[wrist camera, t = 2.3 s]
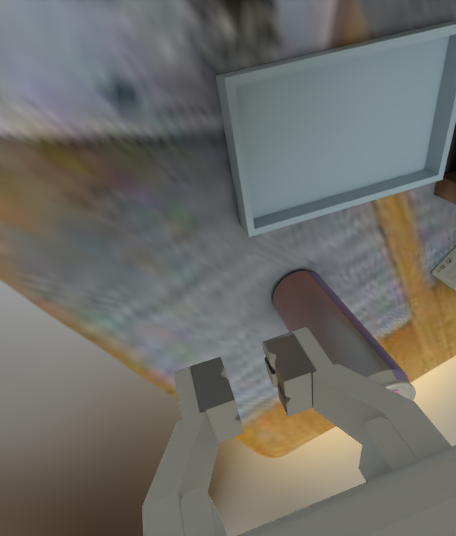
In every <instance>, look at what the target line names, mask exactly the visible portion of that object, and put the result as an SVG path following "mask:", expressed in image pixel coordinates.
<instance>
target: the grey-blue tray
mask: <svg viewBox="0 0 456 536" xmlns="http://www.w3.org/2000/svg"><path fill="white" fill-rule="evenodd" d="M215 77H216V83H217V89H218V95H219V101H220V107H221V113H222V119H223V125H224V131H225V137H226V143H227V149H228V155H229V161H230V167H231V173H232V179H233V185H234V191H235V197H236V202H237V208H238V214H239V220H240V225H241V226H242V228H243V229H244V231H245V232H246V234H247V235H248V237H251V236H255V235H258V234H262V233H265V232H268V231H272V230H275V229H278V228H282V227H285V226H288V225H292V224H295V223H298V222H302V221H305V220H309V219H312V218H315V217H319V216H322V215H325V214H329V213H332V212H335V211H339V210H342V209H345V208H349V207H352V206H356V205H359V204H362V203H366V202H369V201H372V200H376V199H379V198H382V197H386V196H389V195H392V194H396V193H399V192H403V191H406V190H409V189H413V188H416V187H419V186H423V185H426V184H429V183H433V182H436V181H439V180H443V176H444V171H445V167H446V162H447V158H448V154H449V149H450V145H451V140H452V136H453V132H454V127H455V123H456V21H448V22H444V23H440V24H435V25H431V26H427V27H422V28H418V29H414V30H409V31H405V32H401V33H397V34H392V35H388V36H384V37H379V38H375V39H371V40H366V41H362V42H358V43H353V44H349V45H345V46H340V47H336V48H332V49H327V50H323V51H319V52H314V53H310V54H306V55H301V56H297V57H293V58H288V59H284V60H280V61H275V62H271V63H267V64H262V65H258V66H254V67H249V68H245V69H241V70H236V71H232V72H228V73H223V74H219V75H215Z"/></svg>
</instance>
